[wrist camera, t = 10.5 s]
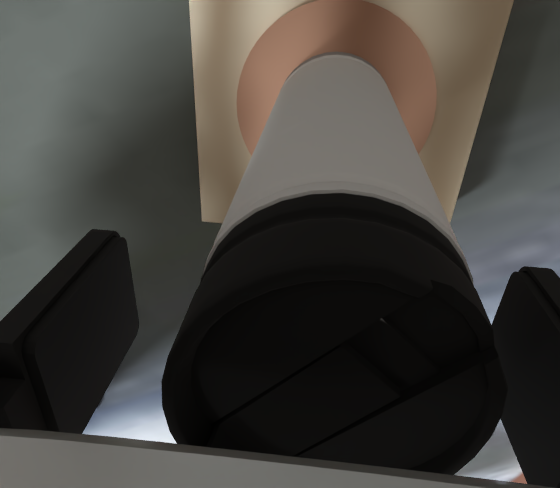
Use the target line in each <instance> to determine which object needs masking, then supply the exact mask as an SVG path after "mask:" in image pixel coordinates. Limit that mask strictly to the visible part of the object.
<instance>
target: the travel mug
mask: <svg viewBox="0 0 560 488" xmlns="http://www.w3.org/2000/svg"><path fill="white" fill-rule="evenodd" d="M507 393H508V386H507V382H506V379H505V375H504V372H503V369H502V365H501V362H500V358H499V355H498V353H497V351H496V348H495V345H494V332H493V328H492V325H491V323H490V321H489V319H488V316H487V314H486V312H485V309H484V307H483V305H482V302H481V300H480V298H479V295H478V293H477V291H476V289H475V288H474V286H473V278H472V275H471V273H470V270H469V267H468V264H467V262H466V259H465V256H464V254H463V252H462V250H461V248H460V246H459V245H458V242H457V239H456V237H455V234H454V232H453V230H452V228H451V225H450V223H449V221H448V219H447V217H446V214H445V212H444V210H443V208H442V206H441V203H440V201H439V199H438V197H437V195H436V192H435V190H434V188H433V186H432V183H431V181H430V179H429V177H428V175H427V172H426V170H425V168H424V166H423V164H422V161H421V159H420V157H419V155H418V153H417V150H416V148H415V146H414V144H413V142H412V139H411V137H410V135H409V133H408V130H407V128H406V126H405V124H404V122H403V119H402V117H401V115H400V113H399V111H398V108H397V106H396V104H395V102H394V100H393V97H392V95H391V93H390V91H389V89H388V86H387V84H386V82H385V80H384V79H383V77H382V76H381V74H380V73H379V71H378V70H377V69H376V68H375V67H374V66H373V65H372V64H371V63H369V62H368V61H366V60H364V59H363V58H361V57H359V56H356V55H353V54H350V53H345V52H327V53H322V54H319V55H316V56H313V57H311V58H309V59H307V60H306V61H304V62H302V63H301V64H300V65H299V66H298V67H296V68H295V69H294V70H293V71H292V72H291V74H290V75H289V76H288V77H287V79H286V81H285V82H284V84H283V86H282V88H281V90H280V93H279V95H278V97H277V100H276V102H275V104H274V106H273V109H272V111H271V113H270V116H269V118H268V120H267V122H266V125H265V127H264V129H263V132H262V134H261V136H260V138H259V141H258V143H257V145H256V148H255V150H254V152H253V154H252V157H251V159H250V161H249V164H248V166H247V168H246V171H245V173H244V175H243V177H242V180H241V182H240V184H239V187H238V189H237V191H236V193H235V196H234V198H233V200H232V203H231V205H230V207H229V209H228V212H227V214H226V216H225V219H224V221H223V223H222V226H221V228H220V230H219V232H218V235H217V237H216V239H215V242H214V245H213V248H212V249H211V251H210V253H209V255H208V258H207V260H206V262H205V266H204V270H203V274H202V278H201V282H200V285H199V287H198V289H197V290H196V292H195V294H194V297H193V299H192V301H191V304H190V306H189V308H188V311H187V313H186V315H185V318H184V320H183V323H182V325H181V327H180V330H179V332H178V334H177V337H176V339H175V341H174V344H173V346H172V348H171V351H170V353H169V355H168V358H167V362H166V366H165V370H164V374H163V378H162V407H163V410H164V414H165V417H166V420H167V424H168V427H169V430H170V432H171V434H172V436H173V438H174V439H175V441H176V443H177V444H183V445H192V446H201V447H210V448H220V449H229V450H238V451H247V452H256V453H265V454H274V455H283V456H291V457H300V458H309V459H318V460H327V461H336V462H344V463H353V464H362V465H371V466H379V467H388V468H397V469H405V470H413V471H422V472H430V473H439V474H447V475H454V474H455V473H456V472H458V471H459V470H460V469H461V468H462V467H463V466H465V465H466V464H467V463H468V462H469V461H471V460H472V459H473V458H474V457H475V456H476V455H477V453H478V452H479V451H480V450H481V448H482V447H483V446H484V445H485V444H486V442H487V441H488V440H489V439H490V437H491V436H492V434H493V432H494V430H495V428H496V426H497V424H498V422H499V420H500V418H501V416H502V414H503V411H504V406H505V402H506V397H507Z"/></svg>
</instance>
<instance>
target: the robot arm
mask: <svg viewBox="0 0 560 488" xmlns="http://www.w3.org/2000/svg"><path fill="white" fill-rule="evenodd" d="M138 327H139V319H138V313H137V306H136V300H135V293H134V287H133V280H132V274H131V267H130V261H129V254H128V248H127V242H126V240H125V238H123V237H120V235H119V234H118V232H116V231H109V230H98V229H92V230H91V231H89V232H88V233H87V234H86V235H85V236H84V237H83V238H82V239H81V240H80V241H79V242H78V244H77V245H76V246H75V247H74V248H73V249H72V250H71V251H70V252H69V253H68V254H67V255H66V256H65V257H64V258H63V259H62V260H61V261H60V262H59V263H58V264H57V265H56V266H55V267H54V268H53V269H52V270H51V271H50V272H49V273H48V274H47V275H46V276H45V277H44V278H43V279H42V280H41V281H40V282H39V283H38V284H37V285H36V286H35V287H34V288H33V289H32V290H31V291H30V292H29V293H28V294H27V295H26V296H25V297H24V298H23V299H22V300H21V301H20V302H19V303H18V304H17V305H16V306H15V307H14V308H13V309H12V310H11V311H10V312H9V313H8V314H7V315H6V316H5V317H4V318H3V319H2V320H1V321H0V488H560V278H559V277H558V276H557V274H556V273H555V272H554V271H553V270H552V269H548V268H537V267H526V266H525V267H522V268H521V269H520V270H519V272H513V273H512V274H511V276H510V279H509V281H508V284H507V286H506V289H505V292H504V294H503V297H502V299H501V302H500V305H499V307H498V310H497V312H496V315H495V318H494V320H493V323H492V328H493V332H494V345H495V348H496V351H497V353H498V355H499V358H500V362H501V365H502V369H503V372H504V375H505V379H506V382H507V386H508V393H507V397H506V402H505V406H504V411H503V414H502V416H501V421H502V423H503V426H504V428H505V430H506V433H507V435H508V438H509V440H510V443H511V445H512V447H513V450H514V452H515V455H516V457H517V460H518V462H519V464H520V467H521V469H522V472H523V474H524V476H525V479H526V481H527V484H522V483H514V482H506V481H498V480H489V479H481V478H472V477H464V476H456V475H447V474H439V473H430V472H422V471H413V470H405V469H397V468H388V467H379V466H371V465H362V464H353V463H344V462H336V461H327V460H318V459H309V458H300V457H291V456H283V455H274V454H265V453H256V452H247V451H238V450H229V449H220V448H210V447H201V446H192V445H183V444H173V443H164V442H155V441H145V440H136V439H127V438H117V437H108V436H97V435H86V434H82V433H83V431H84V429H85V427H86V426H87V424H88V422H89V420H90V418H91V417H92V415H93V413H94V411H95V409H96V407H97V406H98V404H99V402H100V400H101V398H102V397H103V395H104V393H105V391H106V389H107V388H108V386H109V384H110V382H111V380H112V379H113V377H114V375H115V373H116V371H117V369H118V368H119V366H120V364H121V362H122V360H123V359H124V357H125V355H126V353H127V351H128V350H129V348H130V346H131V344H132V342H133V341H134V339H135V337H136V335H137V332H138Z"/></svg>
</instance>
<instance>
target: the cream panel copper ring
mask: <svg viewBox="0 0 560 488" xmlns="http://www.w3.org/2000/svg"><path fill="white" fill-rule="evenodd" d="M513 2H514V0H189V8H190V25H191V42H192V59H193V77H194V94H195V111H196V128H197V145H198V162H199V180H200V197H201V214H202V221H204V222H214V223H223V221H224V219H225V216H226V214H227V212H228V209H229V207H230V205H231V203H232V200H233V198H234V196H235V193H236V191H237V189H238V187H239V184H240V182H241V180H242V177H243V175H244V173H245V171H246V168H247V166H248V164H249V161H250V159H251V157H252V154H253V152H254V150H255V148H256V145H257V143H258V141H259V138H260V136H261V134H262V132H263V129H264V127H265V125H266V122H267V120H268V118H269V116H270V113H271V111H272V109H273V106H274V104H275V102H276V100H277V97H278V95H279V93H280V90H281V88H282V86H283V84H284V82H285V81H286V79H287V77H288V76H289V75H290V74H291V72H292V71H293V70H294V69H295V68H296V67H298V66H299V65H300V64H301V63H302V62H304V61H306V60H307V59H309V58H311V57H313V56H316V55H319V54H322V53H327V52H345V53H350V54H353V55H356V56H359V57H361V58H363V59H364V60H366V61H368V62H369V63H371V64H372V65H373V66H374V67H375V68H376V69H377V70H378V71H379V73H380V74H381V76H382V77H383V79H384V80H385V82H386V84H387V86H388V89H389V91H390V93H391V95H392V97H393V100H394V102H395V104H396V106H397V108H398V111H399V113H400V115H401V117H402V119H403V122H404V124H405V126H406V128H407V130H408V133H409V135H410V137H411V139H412V142H413V144H414V146H415V148H416V150H417V153H418V155H419V157H420V159H421V161H422V164H423V166H424V168H425V170H426V172H427V175H428V177H429V179H430V181H431V183H432V186H433V188H434V190H435V192H436V195H437V197H438V199H439V201H440V203H441V206H442V208H443V210H444V212H445V214H446V217H447V219H448V221H449V223H450V221H451V218H452V214H453V211H454V207H455V204H456V200H457V197H458V194H459V190H460V187H461V183H462V180H463V176H464V173H465V169H466V166H467V162H468V159H469V155H470V152H471V148H472V145H473V141H474V138H475V134H476V131H477V127H478V124H479V120H480V117H481V113H482V110H483V106H484V103H485V99H486V96H487V92H488V89H489V85H490V82H491V78H492V75H493V71H494V68H495V65H496V61H497V58H498V54H499V51H500V47H501V44H502V40H503V37H504V33H505V30H506V26H507V23H508V19H509V16H510V12H511V9H512V5H513Z"/></svg>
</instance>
